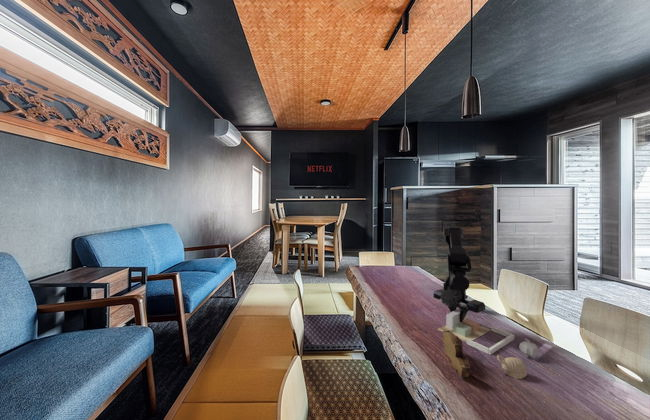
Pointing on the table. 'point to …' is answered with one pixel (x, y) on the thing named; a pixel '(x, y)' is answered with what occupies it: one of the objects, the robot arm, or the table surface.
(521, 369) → the decorative ornament
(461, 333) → the tile
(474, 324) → the tile
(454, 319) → the long grey plank
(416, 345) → the table surface
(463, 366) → the wooden carving
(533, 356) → the garlic
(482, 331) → the board
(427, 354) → the table surface
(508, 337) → the tray
